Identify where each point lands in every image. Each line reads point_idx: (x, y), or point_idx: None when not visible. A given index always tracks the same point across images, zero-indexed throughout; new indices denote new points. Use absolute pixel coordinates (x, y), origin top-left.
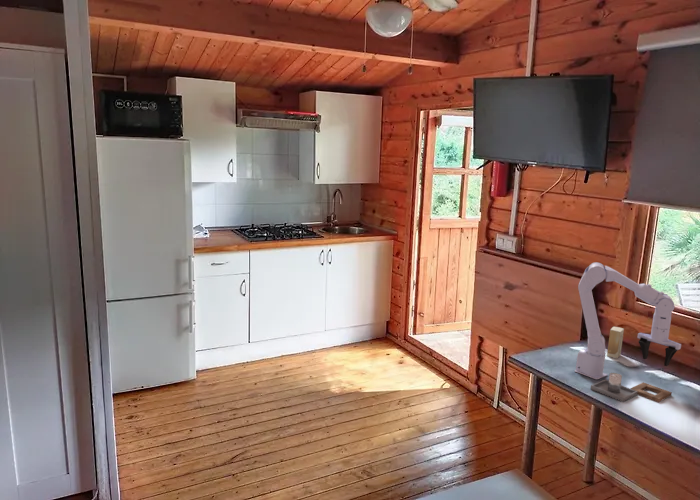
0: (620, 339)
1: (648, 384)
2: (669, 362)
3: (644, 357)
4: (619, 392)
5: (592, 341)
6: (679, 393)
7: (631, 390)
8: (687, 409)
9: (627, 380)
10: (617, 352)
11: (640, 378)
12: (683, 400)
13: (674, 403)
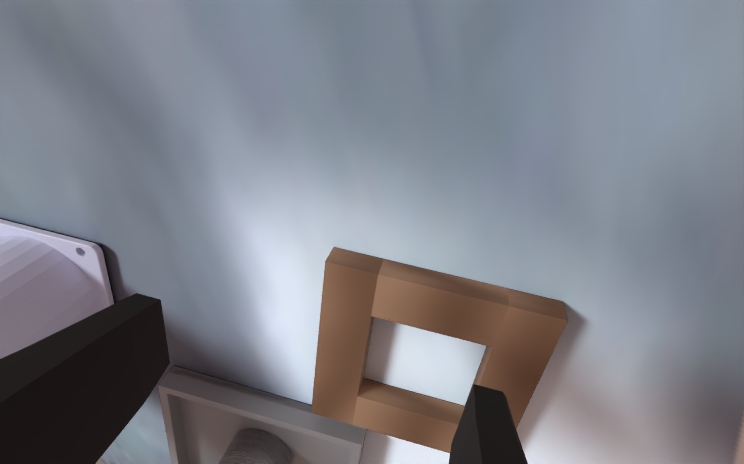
0: None
1: (371, 280)
2: (516, 437)
3: (148, 391)
4: (292, 457)
5: None
6: (633, 208)
7: (329, 437)
8: (685, 455)
9: (220, 229)
10: None
11: (257, 96)
12: (664, 335)
13: (594, 415)
